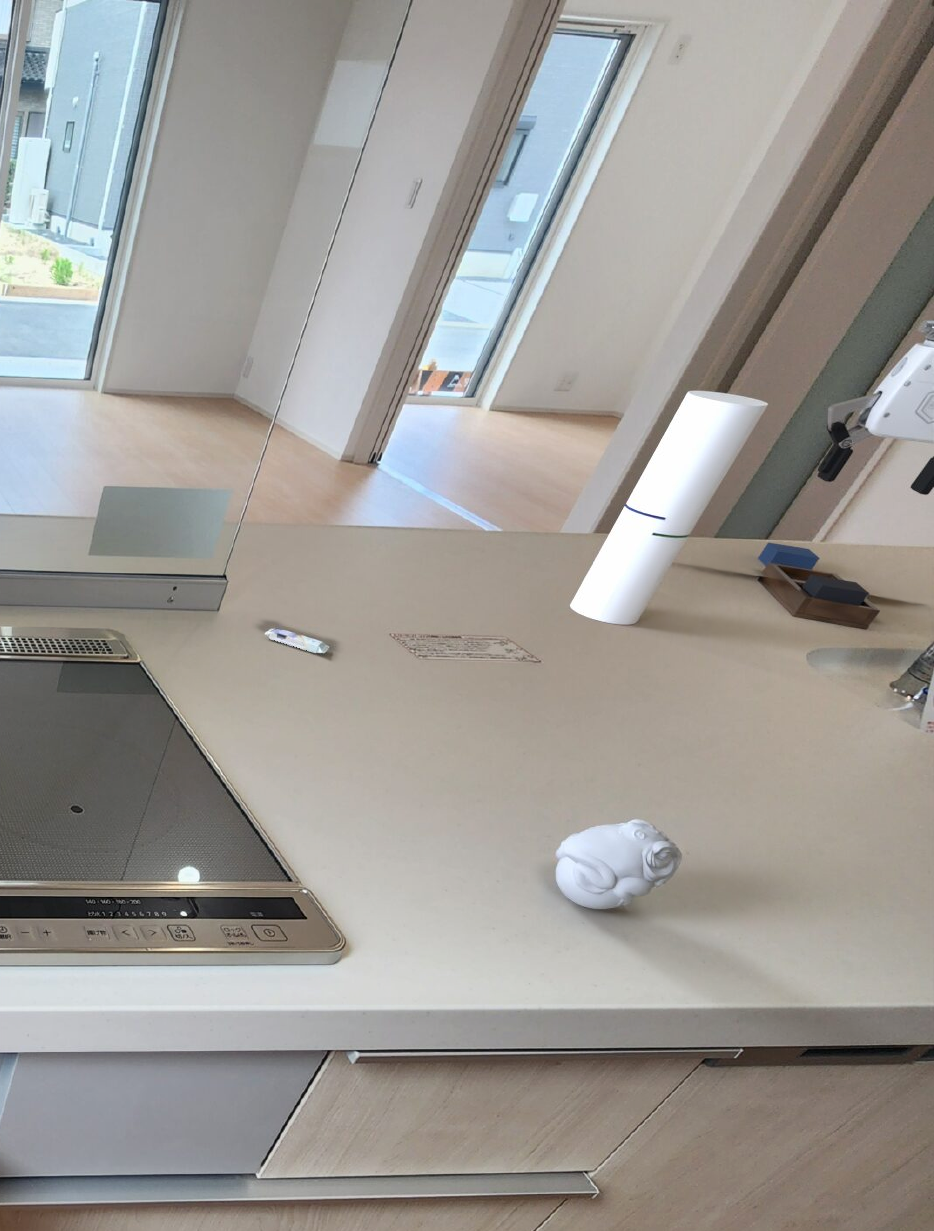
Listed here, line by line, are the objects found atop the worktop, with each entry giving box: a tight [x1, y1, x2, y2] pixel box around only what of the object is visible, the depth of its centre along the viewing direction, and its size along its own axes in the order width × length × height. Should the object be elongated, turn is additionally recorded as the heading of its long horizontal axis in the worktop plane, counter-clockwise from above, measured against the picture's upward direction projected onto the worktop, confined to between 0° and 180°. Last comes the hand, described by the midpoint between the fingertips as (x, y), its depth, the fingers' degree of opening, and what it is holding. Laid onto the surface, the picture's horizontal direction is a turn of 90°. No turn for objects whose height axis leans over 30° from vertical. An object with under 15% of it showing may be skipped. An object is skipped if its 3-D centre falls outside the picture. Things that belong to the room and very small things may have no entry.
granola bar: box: [264, 627, 330, 654], centre depth 105 cm, size 7×2×1 cm, turn 50°
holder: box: [757, 563, 881, 630], centre depth 125 cm, size 8×14×2 cm, turn 155°
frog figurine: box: [555, 818, 683, 910], centre depth 69 cm, size 6×7×7 cm
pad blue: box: [757, 542, 820, 570], centre depth 134 cm, size 5×4×3 cm
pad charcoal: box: [801, 575, 870, 606], centre depth 122 cm, size 5×4×3 cm
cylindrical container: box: [569, 390, 769, 626], centre depth 111 cm, size 7×7×25 cm
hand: (870, 485), depth 121 cm, fingers open, 9 cm apart
